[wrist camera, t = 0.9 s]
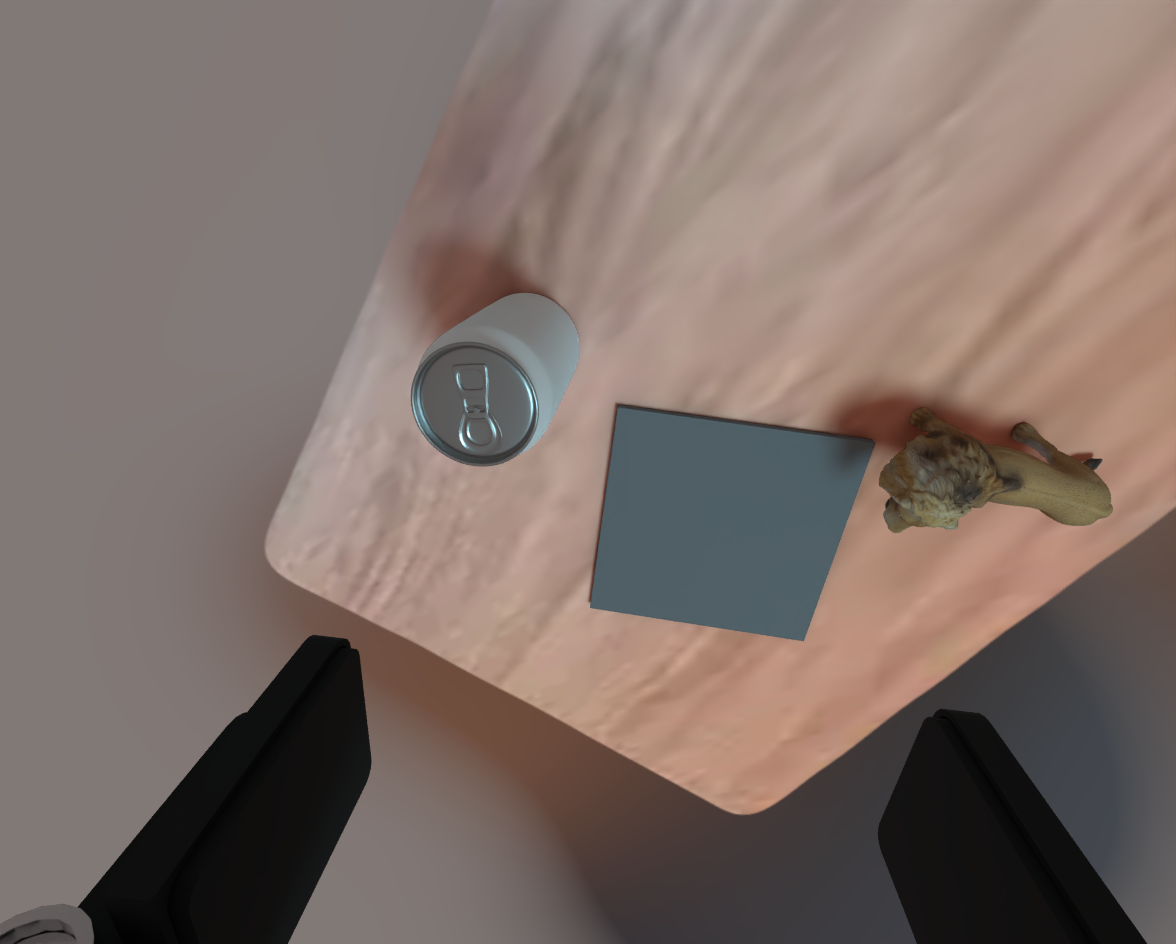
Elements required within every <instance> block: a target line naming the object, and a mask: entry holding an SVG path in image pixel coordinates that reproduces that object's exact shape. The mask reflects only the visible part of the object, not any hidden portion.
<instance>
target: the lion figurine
mask: <svg viewBox="0 0 1176 944" xmlns="http://www.w3.org/2000/svg"><path fill="white" fill-rule="evenodd" d="M910 423H911V424H912V425H914V426H916V427H918V428H919V429H920V430H922V431H925V432H930V433H929V434H928V435H927V436H924V435H919V436H917V437H916V438H915V439H914V440H913V441H907V442H906V447H905V449H904V450H903V451H901V452H900V453H898V454H897V455H896V456H894V458H893V459H891V460H890V463H889V464H886V465H885V466H884V469H883V471H881V473H880V477H879V486H880V487H882V488H883V489H885V490H886V491H887V492H888V493H889V495H890V496H891V497H890V498H889V499H888V501H886V503H885V508H886V510H885V511H884V513H883V516H884V519H885V521H886V523H887V525H888V529H889V530H890V531H892V532H893V533H900V532H902V531H903V530H905V529H906V528H908V527H911V526H916V527H925V526H928V527H933V528H935V527H943V528H945V529H947V530H951V529H953V530H954V529H958V519H959V518H960V517H962V516H964V515H966V514H967V513H968V512H970V511H971V508H972V507H974V508H981V507H983V506H984V505H985V504H986V503H987V502H988V501H989V502H993V503H999V504H1005V505H1012V506H1023V507H1030V508H1035V509H1039V510H1040V511H1041V512H1043V513H1044V514H1045V515H1047V516H1048V517H1050V518H1052V519H1053V520H1055V521H1057V522H1060V523H1062V524H1065V525H1071V526H1085V525H1090V524H1092V523H1094V522H1095V521H1096V520H1098V519H1101V518H1106V517H1108V516H1109V515H1110V514H1111V513H1112V511H1113V507H1112V505H1111V504H1110V502H1111V495H1110V492H1109V489H1108V487H1107V485H1106V484H1105V483H1104V482H1103V481H1102V479H1101V478H1100V477H1099V476H1098V475H1097V474H1096V473H1095V472H1094V471H1093V470H1095V469H1096V468H1097V467H1098V466H1099V464H1100V463H1101V462H1102V459H1093V458H1090V459H1087V460H1086V461H1085V462H1083V463H1081V462H1079V461H1078V460H1076V459H1074V458H1072V457H1070V456H1068V455H1066V454H1065V453H1062V452H1060V451H1058V450H1057V448H1056V447H1055V446H1054V445H1052V444H1051V443H1049V442H1048V441H1046V440H1045V439H1044V438H1042V437H1041V436H1040V435H1039V433H1038V432H1037V431H1036V430H1035V428H1034V427H1033V426H1032V425H1030V424H1028V423H1022V424H1019V425H1017V426H1016V428H1015V429H1014V431H1013V433H1012V437H1013V438H1014V439H1015V440H1016V441H1018V442H1020V443H1023V444H1026V445H1028V446H1030V447H1032V448H1034V449H1035V450H1037V451H1038V452H1039V453H1040V454H1041V455H1042V456H1043V457H1045V458H1047V462H1048V463H1049V465H1048V464H1046V463H1044V462H1042V461H1041V460H1039V459H1037V458H1035V457H1033V456H1031V455H1029V454H1027V453H1025V452H1022V451H1019V450H1015V449H1011V448H1007V447H1003V446H997V445H991V444H983V443H982V442H981V441H979V440H978V439H976V438H974V437H973V436H971V435H969V434H966V433H964V432H962V431H961V430H960V429H958V428H957V427H955V426H952V425H950V424H948V423H946V422H944V421H941V420H940V419H938V418H937V417H936V416H935V415H934V414H933V413H932V412H931V411H930V410H929V409H927V408H920V409H917V410H915V411H914V412H913V413H912V414H911V419H910Z"/></svg>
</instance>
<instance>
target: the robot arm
mask: <svg viewBox="0 0 1176 944" xmlns="http://www.w3.org/2000/svg"><path fill="white" fill-rule="evenodd" d="M370 769H371V751H370V743H369V735H368V725H367V716H366V708H365V699H364V691H363V682H362V673H361V664H360V655H359V652H358V650H357V649H351V646H350V642H349V641H348V640H347V639H343V638H335V637H327V636H318V635H312V636H310V637H309V638H307V639H306V640H305V641H304V643H303V644H302V645H301V646H300V648H299V649H298V650H297V651H296V653H295V654H294V655H293V656H292V657H291V659H290V660H289V661H288V663H287V664H286V665H285V666H284V667H283V669H282V670H281V671H280V672H279V674H278V675H277V676H276V677H275V679H274V680H273V681H272V682H271V683H270V685H269V686H268V687H267V689H266V690H265V691H264V692H263V693H262V695H261V696H260V697H259V698H258V700H257V701H256V702H255V703H254V705H253V706H252V707H251V708H250V710H249V711H248V712H246V713H243V714H241V715H239V716H237V717H236V718H235V719H234V720H233V721H232V722H231V723H230V724H229V725H228V726H227V727H226V728H225V729H224V731H223V732H222V733H221V734H220V735H219V736H218V738H217V739H216V740H215V741H214V742H213V744H212V745H211V746H210V747H209V749H208V750H207V751H206V752H205V754H204V755H203V756H202V757H201V758H200V759H199V761H198V762H197V763H196V764H195V765H194V767H193V768H192V769H191V771H190V772H189V773H188V774H187V775H186V777H185V778H184V779H183V780H182V781H181V782H180V784H179V785H178V786H177V787H176V789H175V790H174V791H173V792H172V794H171V795H170V796H169V797H168V798H167V800H166V801H165V802H164V803H163V804H162V806H161V807H160V808H159V809H158V810H157V812H156V813H155V814H154V815H153V816H152V818H151V819H150V820H149V821H148V822H147V824H146V825H145V826H144V827H143V829H142V830H141V831H140V832H139V834H138V835H137V836H136V837H135V838H134V840H133V841H132V842H131V843H130V844H129V846H128V847H127V848H126V849H125V851H124V852H123V853H122V854H121V855H120V856H119V858H118V859H117V860H116V861H115V863H114V864H113V865H112V866H111V867H110V869H109V870H108V871H107V872H106V873H105V875H104V876H103V877H102V878H101V880H100V881H99V882H98V883H97V884H96V886H95V887H94V888H93V889H92V890H91V892H90V893H89V894H88V895H87V897H86V898H85V899H84V900H83V901H82V902H81V904H80V905H79V906H78V907H74V906H70V905H66V904H60V905H49V906H41V907H38V908H35V909H33V910H30V911H27V912H24V913H21V914H18V915H16V916H14V917H12V918H10V919H8V920H7V921H5V922H3V923H1V924H0V944H288V942H289V940H290V938H291V936H292V934H293V932H294V930H295V928H296V926H297V924H298V921H299V920H300V918H301V915H302V914H303V912H304V910H305V907H306V905H307V903H308V901H309V899H310V897H311V895H312V893H313V891H314V889H315V887H316V885H317V883H318V881H319V879H320V877H321V875H322V873H323V871H324V869H325V867H326V865H327V863H328V861H329V858H330V856H331V854H332V852H333V850H334V848H335V846H336V844H337V842H338V840H339V838H340V836H341V834H342V832H343V830H344V828H345V826H346V824H347V822H348V820H349V818H350V816H351V814H352V811H353V809H354V807H355V805H356V803H357V801H358V799H359V797H360V795H361V793H362V791H363V789H364V787H365V785H366V782H367V780H368V777H369V773H370ZM878 840H879V846H880V849H881V852H882V855H883V857H884V860H885V862H886V865H887V867H888V870H889V873H890V875H891V877H892V880H893V883H894V886H895V888H896V891H897V893H898V896H899V898H900V901H901V904H902V906H903V908H904V911H905V914H906V916H907V919H908V922H909V924H910V927H911V929H912V932H913V934H914V937H915V940H916V942H917V944H1147V943H1146V941H1145V940H1144V939H1143V937H1142V936H1141V934H1140V933H1139V931H1138V930H1137V929H1136V927H1135V926H1134V924H1133V923H1132V922H1131V920H1130V919H1129V917H1128V916H1127V915H1126V914H1125V912H1124V910H1123V909H1122V908H1121V906H1120V905H1119V904H1118V902H1117V901H1116V899H1115V898H1114V896H1113V895H1112V894H1111V892H1110V891H1109V889H1108V888H1107V886H1106V885H1105V884H1104V882H1103V881H1102V879H1101V878H1100V877H1099V875H1098V874H1097V872H1096V871H1095V870H1094V868H1093V867H1092V866H1091V864H1090V862H1089V861H1088V860H1087V858H1086V857H1085V856H1084V854H1083V853H1082V851H1081V850H1080V848H1079V847H1078V846H1077V844H1076V843H1075V841H1074V840H1073V839H1072V838H1071V836H1070V834H1069V833H1068V832H1067V830H1066V829H1065V828H1064V826H1063V824H1062V823H1061V822H1060V820H1059V819H1058V818H1057V816H1056V815H1055V813H1054V812H1053V810H1052V809H1051V808H1050V806H1049V805H1048V804H1047V802H1046V801H1045V799H1044V798H1043V796H1042V795H1041V794H1040V792H1039V791H1038V790H1037V788H1036V786H1035V785H1034V784H1033V782H1032V781H1031V779H1030V778H1029V777H1028V775H1027V774H1026V773H1025V771H1024V770H1023V768H1022V767H1021V765H1020V764H1019V763H1018V761H1017V760H1016V758H1015V757H1014V755H1013V754H1012V753H1011V751H1010V750H1009V748H1008V747H1007V746H1006V744H1005V743H1004V741H1003V740H1002V739H1001V737H1000V736H999V734H998V733H997V732H996V730H995V729H994V727H993V726H992V724H991V723H990V722H989V721H988V720H987V719H986V718H985V716H983V715H981V714H979V713H973V712H964V711H956V710H947V709H939V710H938V711H936V712H935V714H934V716H933V717H927V718H926V719H925V720H924V722H923V723H922V726H921V728H920V730H919V733H918V735H917V737H916V740H915V743H914V744H913V747H912V749H911V751H910V754H909V756H908V759H907V761H906V763H905V765H904V768H903V770H902V772H901V775H900V777H899V779H898V782H897V784H896V786H895V789H894V791H893V793H892V796H891V798H890V800H889V802H888V805H887V807H886V809H885V812H884V814H883V816H882V819H881V821H880V823H879V828H878Z"/></svg>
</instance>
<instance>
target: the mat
mask: <svg viewBox="0 0 1176 944" xmlns="http://www.w3.org/2000/svg"><path fill="white" fill-rule="evenodd" d="M874 445H875V442H874V441H873V440H872V439H864V438H857V437H850V436H843V435H835V434H828V433H821V432H814V431H807V430H799V429H792V428H785V427H778V426H770V425H763V424H756V423H749V422H742V421H734V420H727V419H720V418H713V417H705V416H698V415H691V414H684V413H677V412H669V411H662V410H655V409H648V408H640V407H633V406H626V405H619V404H618V411H617V418H616V425H615V432H614V439H613V446H612V453H611V461H610V468H609V475H608V482H607V489H606V496H605V503H604V511H603V518H602V525H601V532H600V539H599V546H598V554H597V561H596V568H595V575H594V582H593V589H592V596H591V604H590V608H594V609H600V610H607V611H613V612H619V613H626V614H632V615H639V616H645V617H652V618H658V619H664V620H671V621H677V622H684V623H690V624H697V625H703V626H709V627H716V628H722V629H729V630H735V631H742V632H748V633H754V634H761V635H767V636H774V637H780V638H786V639H793V640H799V641H804V639H805V636H806V633H807V630H808V628H809V625H810V622H811V619H812V617H813V614H814V611H815V608H816V606H817V603H818V600H819V597H820V594H821V592H822V589H823V586H824V583H825V581H826V578H827V575H828V572H829V570H830V567H831V564H832V561H833V559H834V556H835V553H836V550H837V547H838V545H839V542H840V539H841V536H842V534H843V531H844V528H845V525H846V523H847V520H848V517H849V514H850V511H851V509H852V506H853V503H854V500H855V498H856V495H857V492H858V489H859V487H860V484H861V481H862V478H863V475H864V473H865V470H866V467H867V464H868V462H869V459H870V456H871V453H872V451H873V448H874Z"/></svg>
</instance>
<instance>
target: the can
mask: <svg viewBox="0 0 1176 944" xmlns="http://www.w3.org/2000/svg"><path fill="white" fill-rule="evenodd" d="M578 358H579V339H578V334H577V331H576V328H575V326H574V324H573V322H572V320H571V319H570V317H569V316H568V314H567V313H566V312H565V311H564V310H563V309H562V308H561V307H560V306H559V305H558V304H556V303H555V302H553V301H552V300H550V299H548V298H546V297H544V296H541V295H538V294H533V293H516V294H512V295H508V296H506V297H503V298H501V299H499V300H497V301H496V302H494V303H492V304H490V305H489V306H487V307H485V308H484V309H482V310H480V311H479V312H477V313H475V314H474V315H472V316H471V317H469V318H467V319H466V320H464V321H462V322H461V323H459V324H458V325H456V326H454V327H453V328H451V329H450V330H448V331H447V332H445V333H444V334H442V335H441V336H440V337H438V338H437V339H436V340H435V341H434V342H433V343H432V344H431V345H430V346H429V348H428V349H427V350H426V352H425V353H424V355H423V357H422V359H421V361H420V363H419V366H418V370H417V372H416V374H415V377H414V380H413V383H412V388H411V405H412V410H413V414H414V417H415V420H416V423H417V425H418V427H419V429H420V430H421V432H422V434H423V435H424V436H425V438H426V439H427V440H428V441H429V442H430V443H431V445H432V446H434V447H435V448H436V449H437V450H438V451H439V452H441V453H442V454H444V455H445V456H447V457H449V458H451V459H453V460H455V461H457V462H460V463H463V464H467V465H472V466H493V465H498V464H501V463H504V462H507V461H509V460H511V459H512V458H514V457H516V456H517V455H520V454H522V453H523V452H525V451H527V450H528V449H530V448H531V447H532V446H533V445H534V444H535V443H536V442H537V441H538V440H539V439H540V438H541V437H542V435H543V434H544V433H545V431H546V429H547V428H548V426H549V424H550V422H551V420H552V418H553V416H554V414H555V412H556V410H557V408H558V406H559V404H560V402H561V399H562V397H563V395H564V393H565V391H566V389H567V387H568V385H569V382H570V380H571V378H572V376H573V374H574V371H575V369H576V366H577V363H578Z"/></svg>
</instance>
